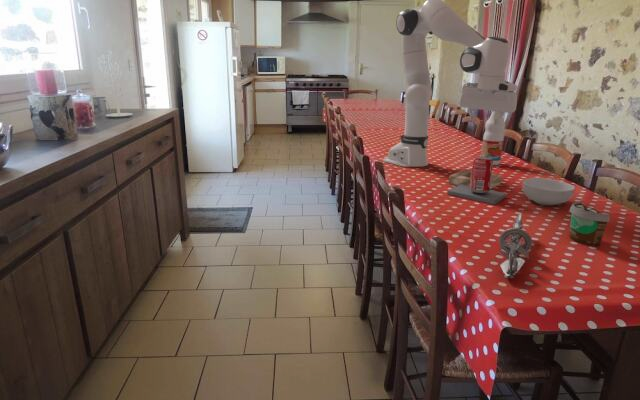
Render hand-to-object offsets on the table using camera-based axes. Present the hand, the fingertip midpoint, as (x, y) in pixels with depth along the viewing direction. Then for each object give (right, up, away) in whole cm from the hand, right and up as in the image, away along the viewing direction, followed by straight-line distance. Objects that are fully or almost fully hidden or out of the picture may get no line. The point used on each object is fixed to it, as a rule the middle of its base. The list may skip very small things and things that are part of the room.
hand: (484, 122), depth 161 cm
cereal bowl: (+21, -30, -3) cm, 37 cm away
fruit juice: (+24, -11, +54) cm, 60 cm away
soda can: (-1, -26, +2) cm, 27 cm away
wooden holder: (+3, -22, +19) cm, 30 cm away
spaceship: (-10, -44, -46) cm, 64 cm away
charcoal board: (-2, -28, +3) cm, 28 cm away
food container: (+14, -41, -36) cm, 56 cm away
